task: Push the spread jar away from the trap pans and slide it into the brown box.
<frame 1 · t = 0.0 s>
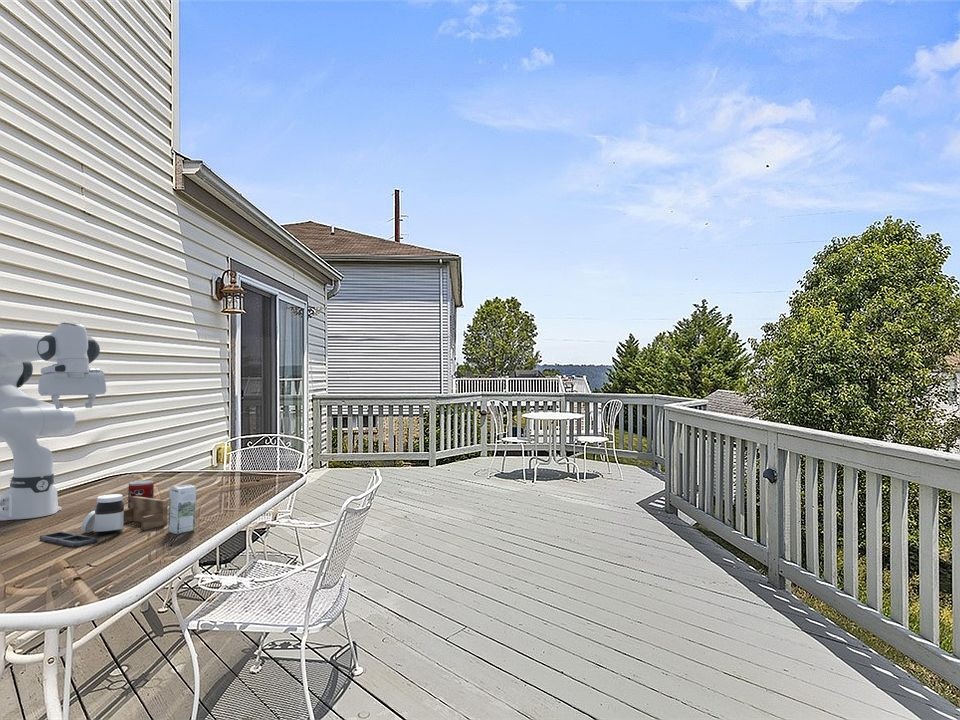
hand: (74, 408, 192), 39 cm above the table, tool pointing down, fingers open, 8 cm apart
syrup box: (181, 532, 179), on the table
canned food: (140, 512, 206), on the table
brown box: (139, 512, 188), on the table
spread jar: (102, 533, 177), on the table
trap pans: (68, 541, 168), on the table
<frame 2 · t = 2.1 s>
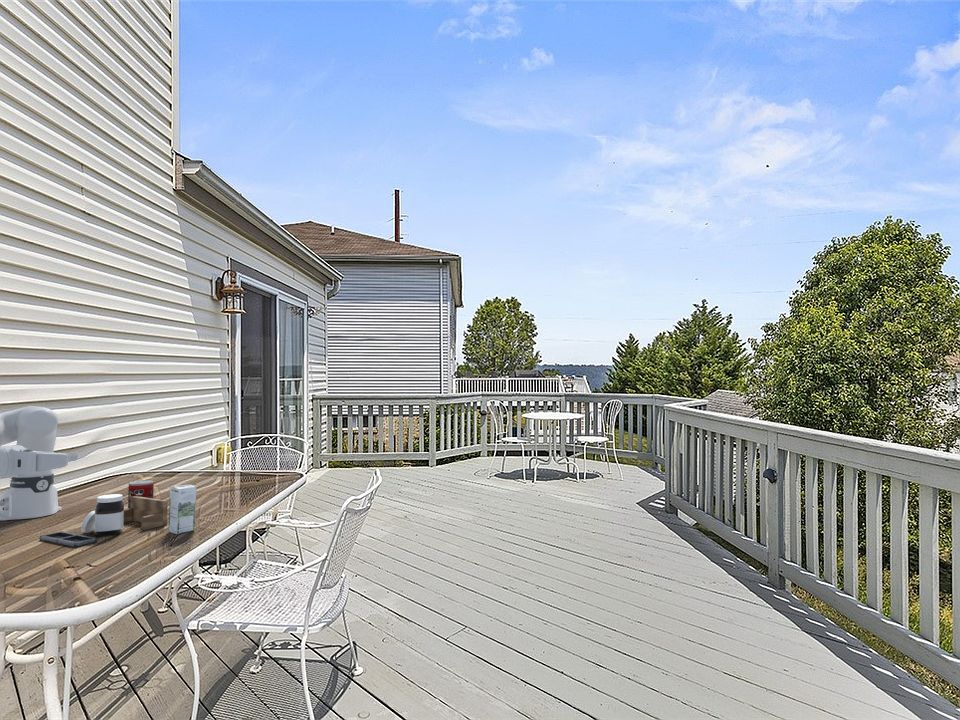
hand: (66, 456, 168), 26 cm above the table, tool horizontal, fingers open, 8 cm apart
nothing on the table moved.
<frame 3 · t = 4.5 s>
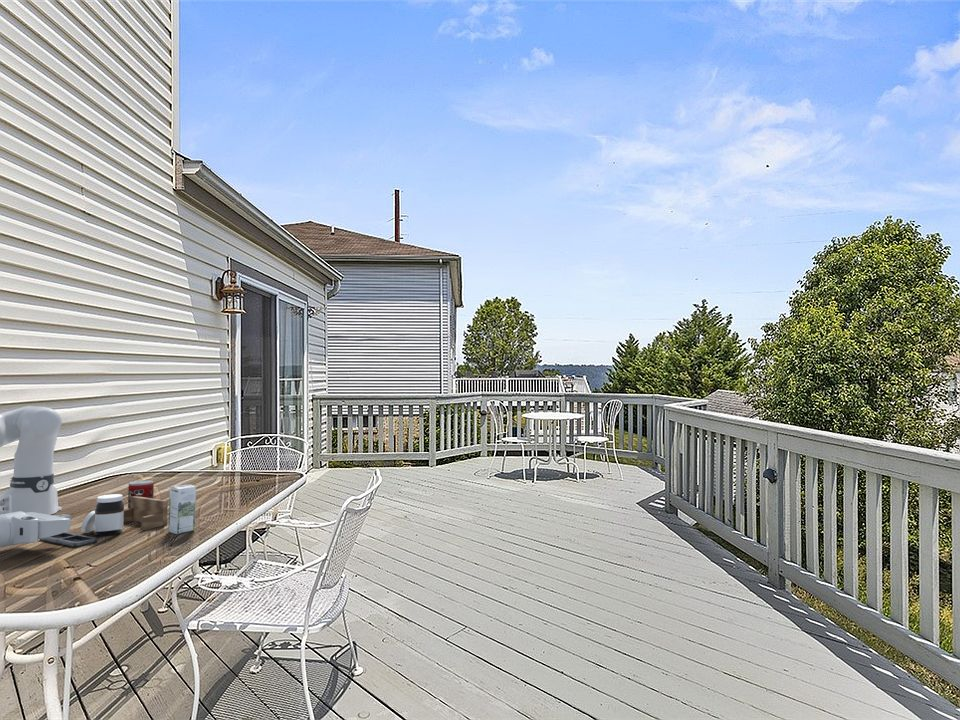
hand: (68, 517, 168), 7 cm above the table, tool horizontal, fingers closed
nothing on the table moved.
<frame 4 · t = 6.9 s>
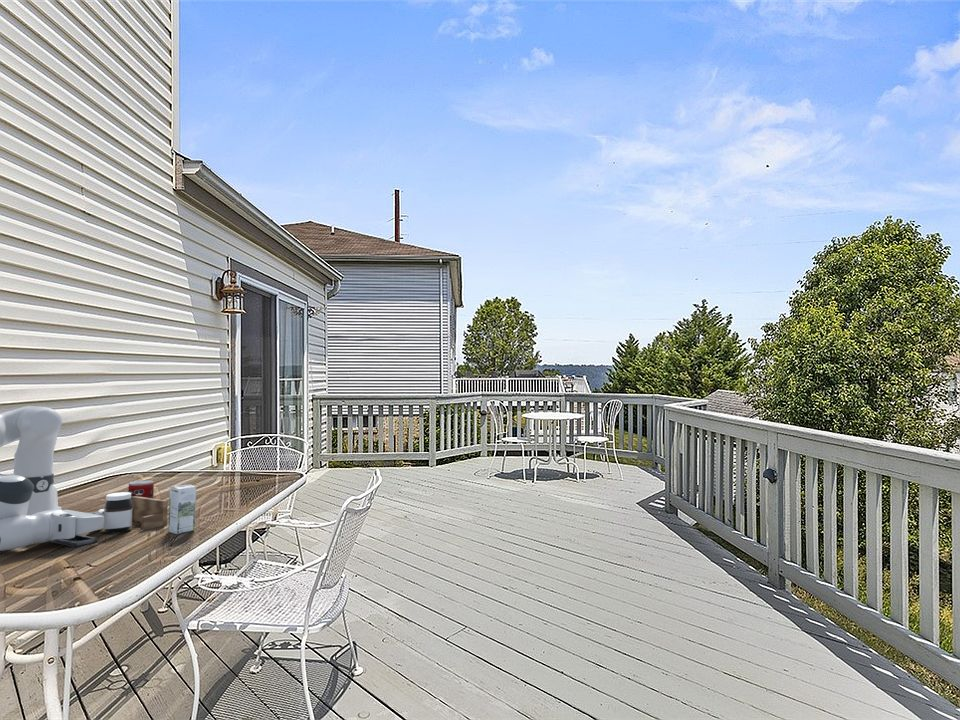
hand: (101, 514, 177), 6 cm above the table, tool horizontal, fingers closed, pressing on spread jar
spread jar: (111, 531, 180), on the table, touching gripper
everything else where it was.
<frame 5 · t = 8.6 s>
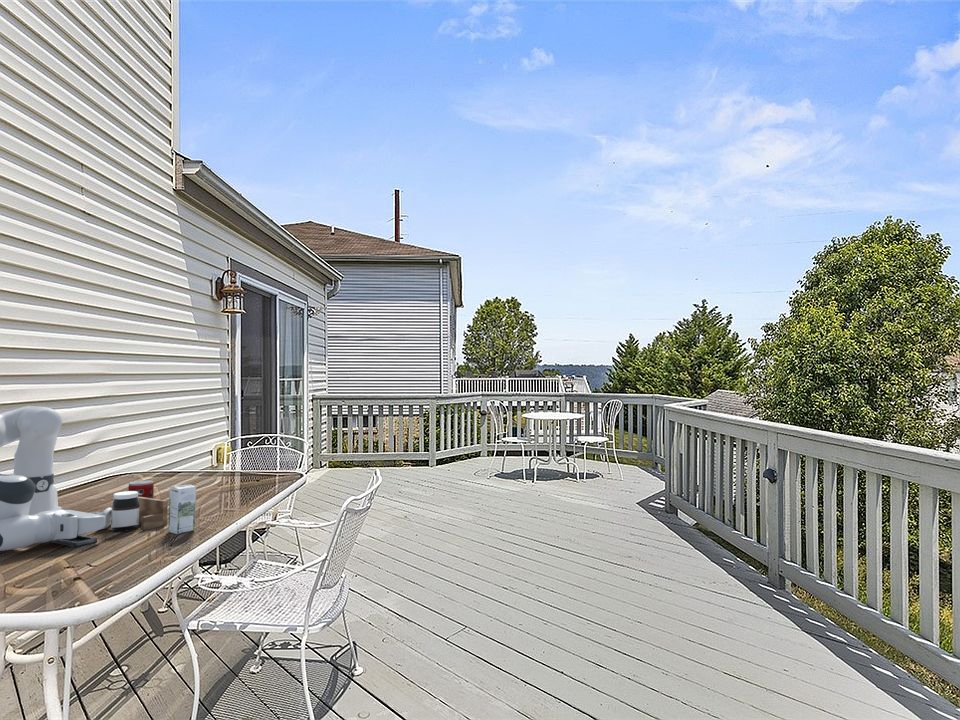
hand: (102, 514, 177), 6 cm above the table, tool horizontal, fingers closed
spread jar: (118, 529, 182), on the table
everything else where it was.
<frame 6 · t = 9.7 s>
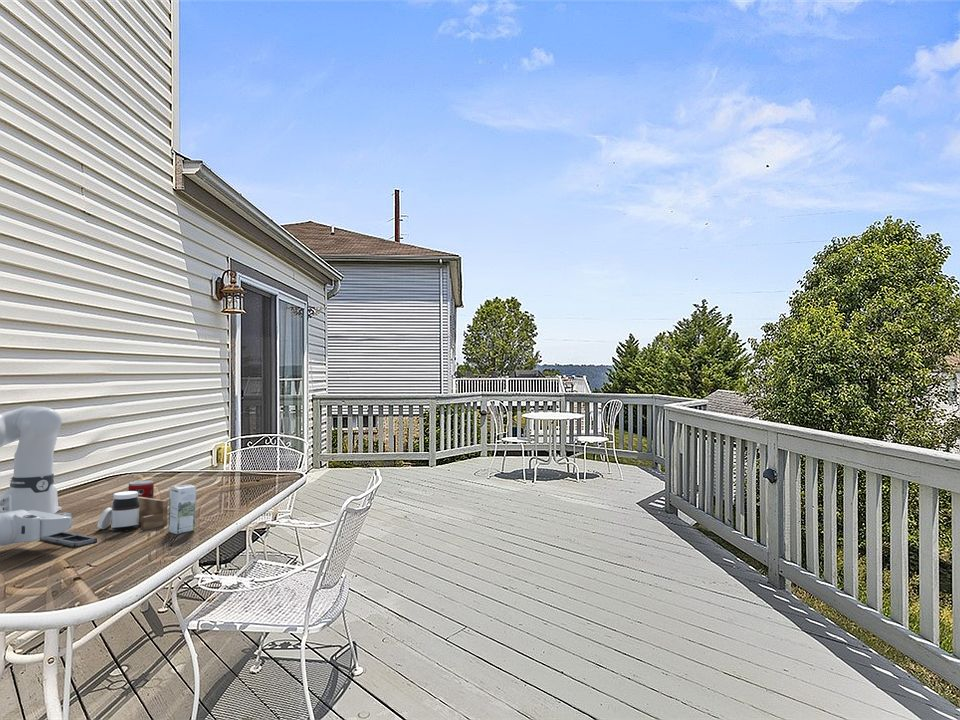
hand: (69, 515, 168), 8 cm above the table, tool horizontal, fingers closed
nothing on the table moved.
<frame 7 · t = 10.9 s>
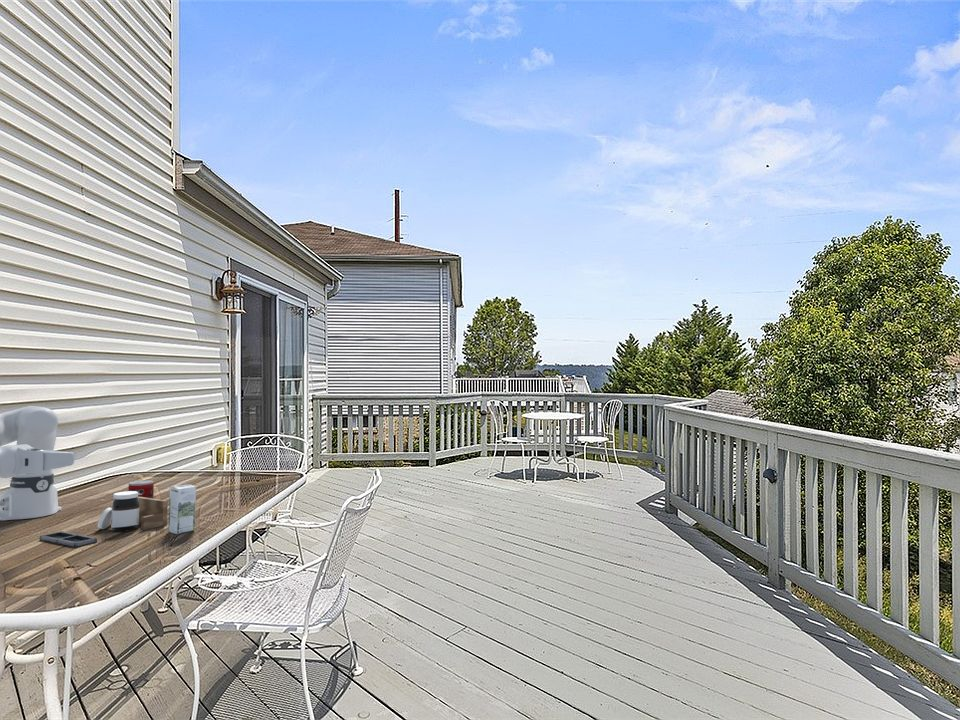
hand: (72, 454, 170), 26 cm above the table, tool horizontal, fingers closed
nothing on the table moved.
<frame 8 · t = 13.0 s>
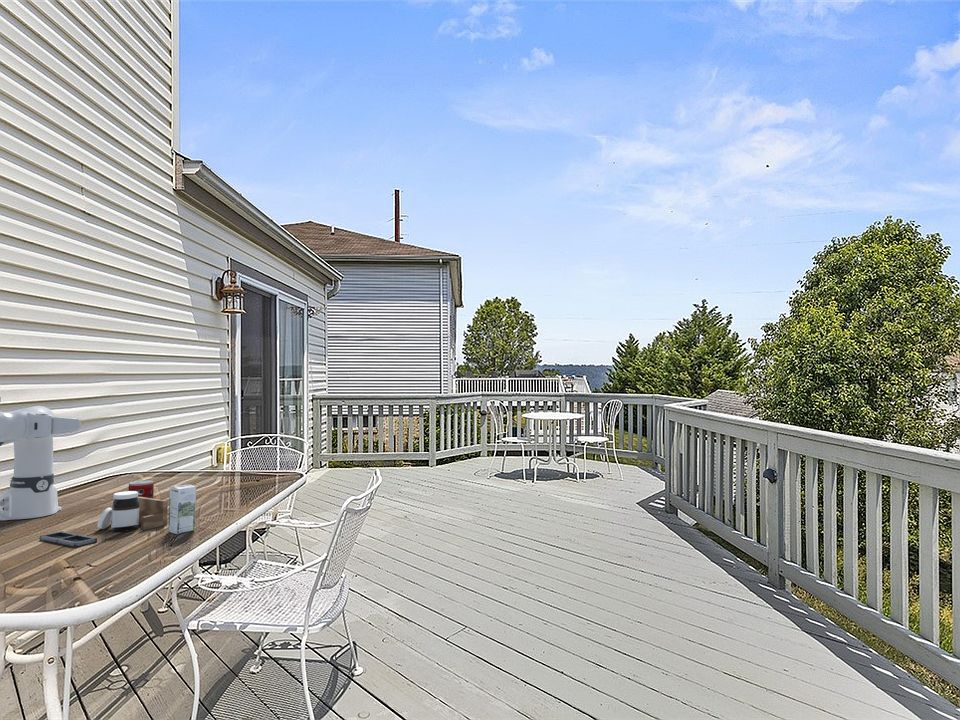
hand: (78, 422, 180), 35 cm above the table, tool horizontal, fingers closed
nothing on the table moved.
at the end: spread jar inside the target area (3.2 cm from its centre), on the table; spread jar tilted 0°; spread jar touching table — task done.
